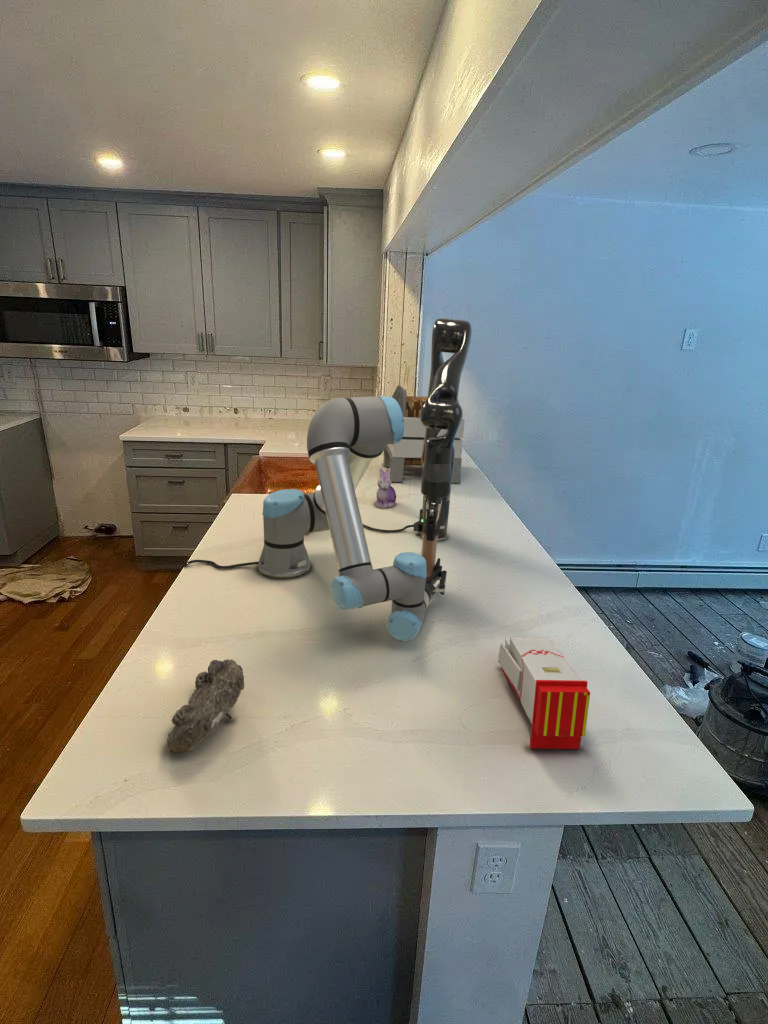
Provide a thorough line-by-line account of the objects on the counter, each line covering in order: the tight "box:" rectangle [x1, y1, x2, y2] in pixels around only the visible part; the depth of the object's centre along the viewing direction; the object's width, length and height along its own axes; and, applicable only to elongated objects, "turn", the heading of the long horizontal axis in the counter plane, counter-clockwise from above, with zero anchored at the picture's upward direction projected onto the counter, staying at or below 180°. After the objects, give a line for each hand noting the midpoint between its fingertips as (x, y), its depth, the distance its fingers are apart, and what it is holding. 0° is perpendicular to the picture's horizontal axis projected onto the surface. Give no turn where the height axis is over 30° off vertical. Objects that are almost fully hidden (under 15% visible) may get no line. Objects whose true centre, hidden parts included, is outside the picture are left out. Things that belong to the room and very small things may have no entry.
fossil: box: [166, 658, 245, 754], centre depth 106 cm, size 22×10×15 cm
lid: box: [423, 523, 441, 535], centre depth 155 cm, size 5×5×2 cm
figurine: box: [375, 467, 397, 509], centre depth 226 cm, size 9×10×15 cm
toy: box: [497, 636, 591, 750], centre depth 115 cm, size 12×13×30 cm
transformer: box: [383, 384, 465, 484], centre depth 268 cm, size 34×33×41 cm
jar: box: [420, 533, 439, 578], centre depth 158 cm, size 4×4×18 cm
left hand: (430, 561), depth 164 cm, fingers closed on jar, 4 cm apart
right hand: (431, 536), depth 156 cm, fingers closed on lid, 4 cm apart
